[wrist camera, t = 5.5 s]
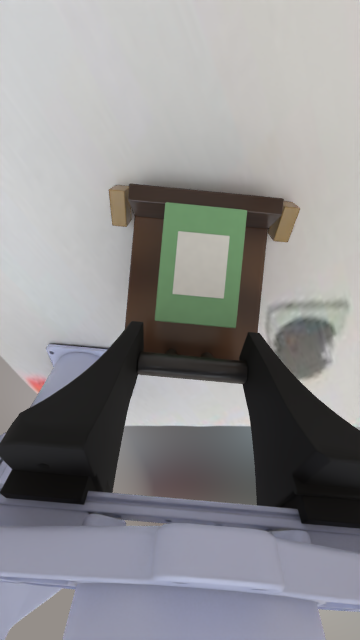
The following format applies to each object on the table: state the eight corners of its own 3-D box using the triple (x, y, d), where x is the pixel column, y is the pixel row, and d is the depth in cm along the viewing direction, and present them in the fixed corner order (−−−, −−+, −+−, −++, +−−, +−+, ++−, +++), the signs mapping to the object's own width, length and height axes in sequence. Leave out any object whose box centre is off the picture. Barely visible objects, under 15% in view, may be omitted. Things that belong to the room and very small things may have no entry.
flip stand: (249, 374, 17) (279, 398, 12) (124, 362, 17) (101, 381, 12) (265, 219, 17) (301, 178, 12) (137, 207, 17) (120, 161, 12)
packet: (225, 326, 16) (236, 328, 13) (158, 319, 16) (154, 320, 13) (234, 229, 16) (248, 208, 13) (167, 223, 16) (165, 200, 13)
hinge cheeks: (281, 234, 17) (287, 242, 16) (118, 218, 17) (112, 225, 16) (292, 201, 16) (300, 208, 15) (115, 184, 16) (108, 189, 15)
